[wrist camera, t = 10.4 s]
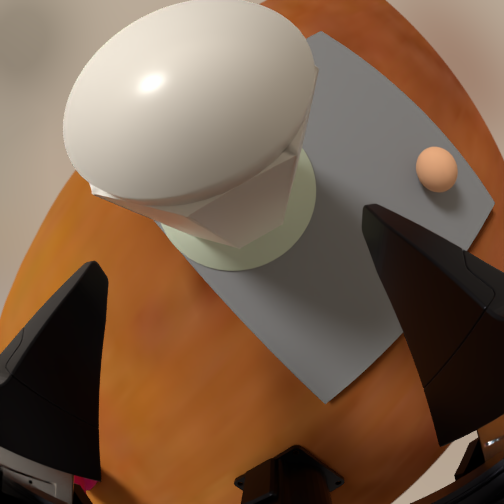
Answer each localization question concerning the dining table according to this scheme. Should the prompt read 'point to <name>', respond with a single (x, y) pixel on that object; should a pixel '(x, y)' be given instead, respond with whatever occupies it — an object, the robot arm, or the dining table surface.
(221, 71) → the salt shaker
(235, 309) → the board
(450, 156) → the ball
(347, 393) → the dining table surface
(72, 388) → the robot arm
